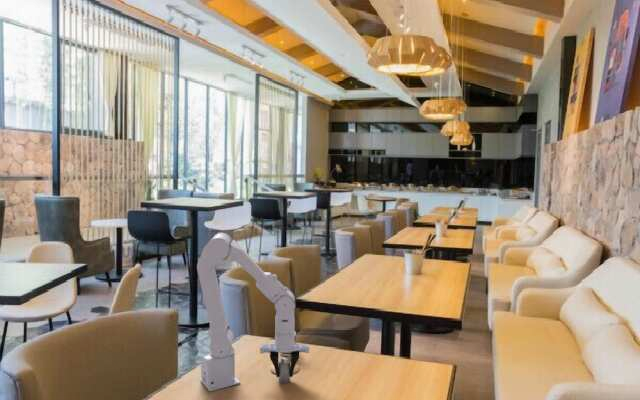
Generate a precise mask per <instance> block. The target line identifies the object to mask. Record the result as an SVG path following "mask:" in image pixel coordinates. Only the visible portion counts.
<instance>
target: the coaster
mask: <svg viewBox="0 0 640 400" xmlns="http://www.w3.org/2000/svg"><path fill="white" fill-rule="evenodd" d="M279 362H280V361H278V364H279ZM289 362H290V366H291V361H289ZM269 370H270V372H271V373H272V374H275V375H276V371H275V367H274V365H273V364H271V365H270V369H269ZM299 370H300V366H299V365H298V364H297V363H296V365H295V367H294V371H293V375H294V374H297V373H298V372H299Z"/></svg>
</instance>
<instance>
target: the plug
mask: <svg viewBox="0 0 640 400" xmlns="http://www.w3.org/2000/svg"><path fill="white" fill-rule="evenodd" d="M278 362H279V377H278V382H279V383H280V384H288V383H290V382H291V377H290V362H291V361H289V359H288V358H286V356H284V357H281V358H280V360H279V361H278Z"/></svg>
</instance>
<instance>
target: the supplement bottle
mask: <svg viewBox="0 0 640 400" xmlns="http://www.w3.org/2000/svg"><path fill="white" fill-rule="evenodd" d="M294 343H297V332H296V331H295V330H294ZM280 355H281V356H284V357H291V352H281V353H280Z"/></svg>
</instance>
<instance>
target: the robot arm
mask: <svg viewBox="0 0 640 400" xmlns="http://www.w3.org/2000/svg"><path fill="white" fill-rule="evenodd" d="M226 257H227V258H226ZM225 258H226V261H227V262H234V263H237V264H238V265H239V266H241V268H243V269H244V271H246V272H247V273H248V274H249V275H250V276H251V277H252V278H254V280H255V281H256V282H255V287H256V288H257V289H258V290H259V291H260V292H261V293H262V294H263V295H264V297H266V298H267V299H268V300H269V301H270V302H271V303H273V304H274V308H275V311H276V313H275V316H274V317H275V319H274V320H275V321H274V323H275V324H274V328H275V331H274V332H275V333H274V343H268V344H260V345H259V354H260V355H261V354H264V353H267V354H268V353H269V358H270V361H271V362H272V365H274V367H275V371H276V374H275V375H276V378H279V364H278V362H279V356H280V355H279V353H280V354H281V352H291V356H290V362H291V366H290V378H293V376H294V374H293V371H294V367H295V365H296V364H297V362H298V361H299V358H300V353H305V354H309V353H310V345H309V344H304V343H297V342H296V343H294V331H295V330H296V329H295V320H296V319H295V318H296V317H295V310H296V309H295V308H296V302H295V301H296V299H295V295H294V293H293V292H292V290H290V289H289V287H288V286H284V285H283V283H281V282H280V280H279V279H278V275H277V274H276V273H271V272H269V271H268V272H267V271H263V269H262V268H261V267H260V266H259V265H258V264H257V262H255V260H254V259H253V258H252V256H250V255H249V254H248V252H246V250H245V249H243V246H241V245H240V243H238V242H237V241H236V240H235V239H232V237H231V236H230V235H229V234H228V233H226V232H217V233H216V234H214V236H212V237H211V239H210V240H209V241H207V243H206V245H205V246H204V247H203V250H202V252H201V254H200V257H199V259H198V262H197V264H196V270H197V274H198V279H199V283H200V287H201V293H202V296H203V297H202V298H203V300H204V301H203V302H204V305H205V309H206V314H207V318H208V323H209V337H210V342H209V346H208V349H209V353H208V354H206V355H205V356H202V357H201V361H200V382H201V384H203V386H205V388H206V389H207V390H208V391H209V392H213V391H216V390H220V389H225V388H228V387H231V386H232V387H233V386H236V385H239V384H241V381H240V380H239V379H238V378H237V377H236V376H235V375H236V372H235V371H236V370H235V367H236V365H235V364H236V363H235V361H236V360H235V358H236V357H235V355H236V352H235V348H234V347H233V342H234V339H235V332H234V330H233V329H232V328H231V325H230V323H229V320H228V319H227V317H226V312H225V307H224V304H223V298H222V293H221V290H220V286H219V285H220V284H219V280H218V277H217V276H218V275H217V272H216V267H217V265H218V264H219V262H221V261H223V260H224V259H225Z"/></svg>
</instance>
